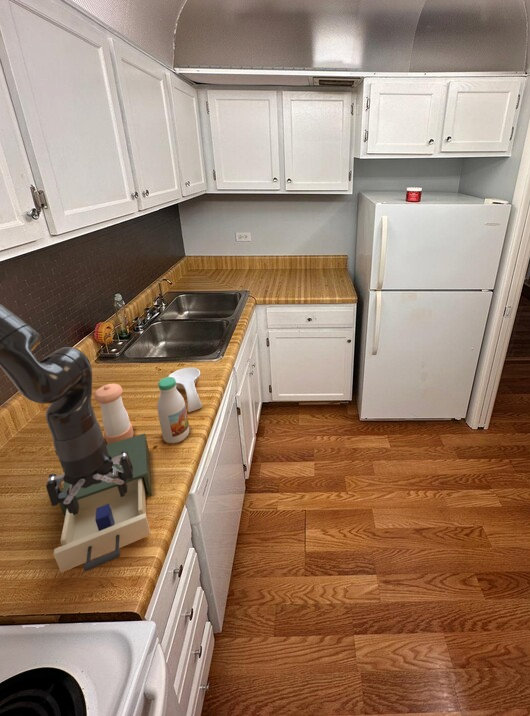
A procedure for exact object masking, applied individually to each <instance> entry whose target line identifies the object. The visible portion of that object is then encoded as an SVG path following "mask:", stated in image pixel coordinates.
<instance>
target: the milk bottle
mask: <svg viewBox="0 0 530 716" xmlns="http://www.w3.org/2000/svg"><path fill="white" fill-rule="evenodd" d="M157 384H158V385H157V386H158V390H159V393H160V394H159V398H158V400H157V416H158V421H159V426H160V431H161V436H162V439H163V441H164V442H166V443H168V444H179V443H181V442H182V441H184V440H185V439H186V438H187V437H188V436H189V433H190V425H189V417H188V411H187V407H186V406H187V405H186V402H185V399H184V397H183V395H182V393H181V392H180V391H178V388H176V381H175V379H174V378H173V377H168V376H167V377H163V378H161V379H159V381H158V383H157Z"/></svg>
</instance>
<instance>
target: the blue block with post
mask: <svg viewBox="0 0 530 716" xmlns="http://www.w3.org/2000/svg"><path fill="white" fill-rule="evenodd" d="M95 521H96V524H97V527H98V530H99V531H101V530H103V529H106V528H108V527H111V526H113V525H115V521H114V518H113V515H112V509H111V506H110V505H109V504H107V505H104V506H101V507H99V508H97V509H96V518H95Z"/></svg>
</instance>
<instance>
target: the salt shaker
mask: <svg viewBox="0 0 530 716" xmlns="http://www.w3.org/2000/svg"><path fill="white" fill-rule="evenodd" d="M123 390H124V389H123V388H122V386H121V385H120V384H118V383H108V384H107V383H106V384H105V385H102V386H100V387H99V388H97V390H96V391H95V393H94V400H95V402H97V403H98V404H99V406H100V407H99V408H100V411H101V418H102V420H101V421H102V426H103V430H104V434H103V436H104V440H105V443H106V445H108V444H111V443H115V442H118V441H121V440H125V439H128V438H131V437H134V436H135V435H134V428H133V424H132V421H130V417H129V414H128V412H127V410H126V408H125V405H124V402H123V399H122V395H123V392H124V391H123Z"/></svg>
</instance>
